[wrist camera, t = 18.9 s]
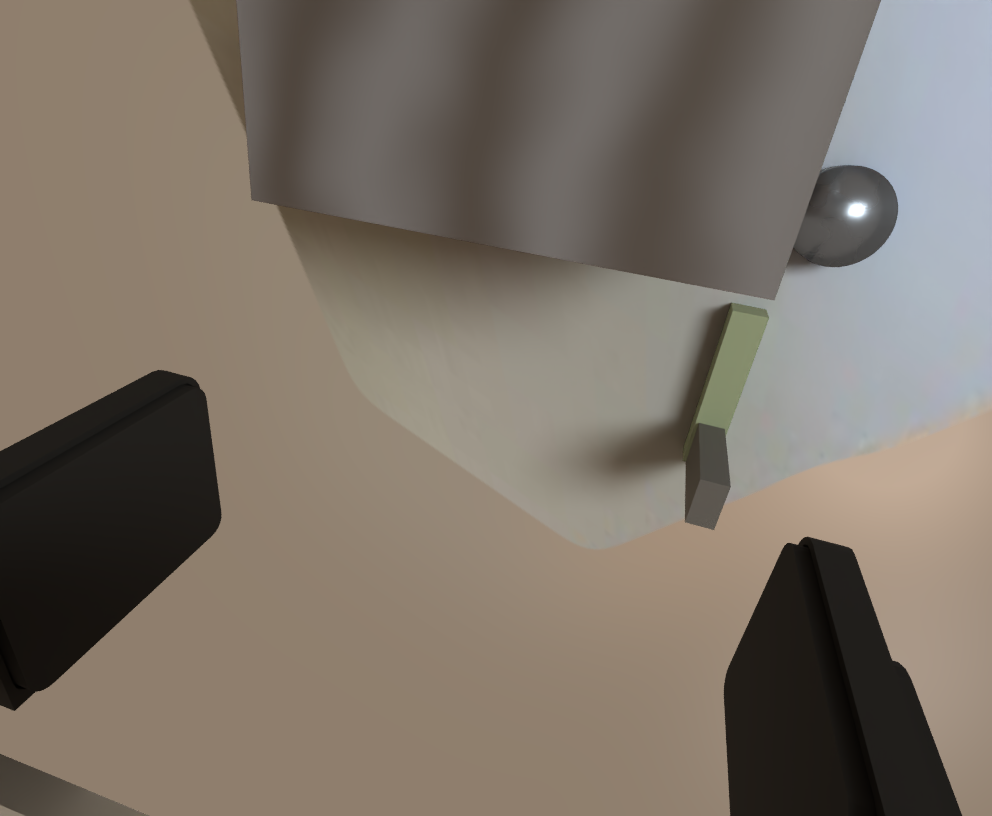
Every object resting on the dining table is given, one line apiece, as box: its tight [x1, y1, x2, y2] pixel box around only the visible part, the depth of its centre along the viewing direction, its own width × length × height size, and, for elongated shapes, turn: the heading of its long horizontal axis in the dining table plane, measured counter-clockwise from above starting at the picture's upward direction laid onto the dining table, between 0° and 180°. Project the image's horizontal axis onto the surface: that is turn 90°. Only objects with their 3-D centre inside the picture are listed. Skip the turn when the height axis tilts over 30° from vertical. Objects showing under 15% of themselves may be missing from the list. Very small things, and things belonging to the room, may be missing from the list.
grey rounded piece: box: [793, 165, 898, 267], centre depth 32 cm, size 5×5×2 cm
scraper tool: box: [683, 303, 769, 530], centre depth 35 cm, size 2×10×8 cm, turn 172°
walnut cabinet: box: [236, 0, 881, 300], centre depth 27 cm, size 21×10×15 cm, turn 83°
